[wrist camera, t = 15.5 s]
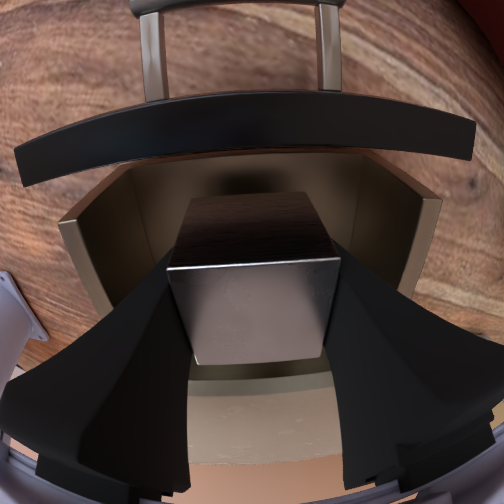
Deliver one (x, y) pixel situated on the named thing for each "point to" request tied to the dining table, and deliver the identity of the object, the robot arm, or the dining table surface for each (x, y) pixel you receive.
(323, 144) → the drawer
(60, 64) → the dining table surface
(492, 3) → the ashtray
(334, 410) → the cabinet
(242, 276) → the steel block
